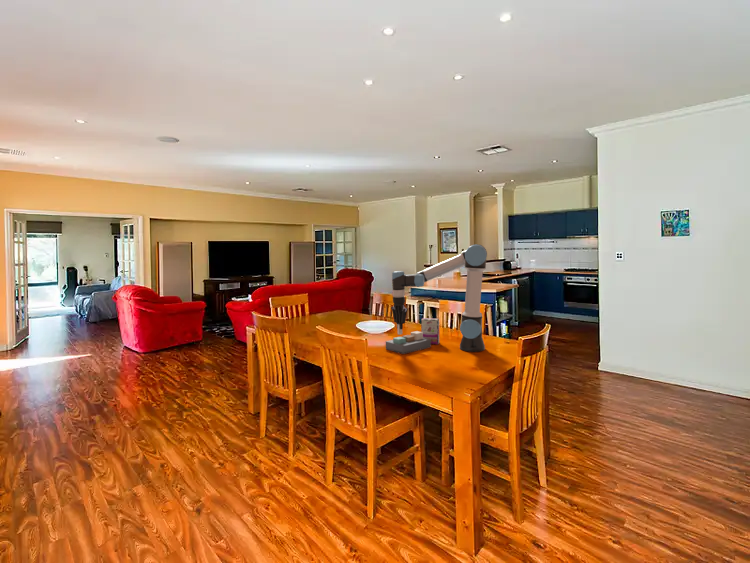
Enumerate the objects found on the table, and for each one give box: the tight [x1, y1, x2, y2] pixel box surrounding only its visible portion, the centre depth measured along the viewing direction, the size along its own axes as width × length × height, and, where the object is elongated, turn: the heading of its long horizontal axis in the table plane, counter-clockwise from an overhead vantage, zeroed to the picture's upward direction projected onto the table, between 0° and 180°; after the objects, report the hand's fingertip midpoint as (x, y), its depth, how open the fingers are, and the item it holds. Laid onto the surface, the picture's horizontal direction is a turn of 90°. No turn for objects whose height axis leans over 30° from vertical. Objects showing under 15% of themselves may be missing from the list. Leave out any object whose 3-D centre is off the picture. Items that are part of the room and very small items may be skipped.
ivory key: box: [410, 330, 423, 340], centre depth 259 cm, size 6×6×4 cm
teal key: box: [392, 336, 406, 344], centre depth 250 cm, size 6×6×4 cm
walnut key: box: [401, 334, 415, 342], centre depth 255 cm, size 6×6×4 cm
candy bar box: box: [420, 317, 440, 345], centre depth 266 cm, size 11×5×16 cm, turn 70°
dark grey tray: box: [385, 338, 432, 355], centre depth 255 cm, size 16×24×5 cm, turn 129°
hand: (400, 334), depth 250 cm, fingers closed
